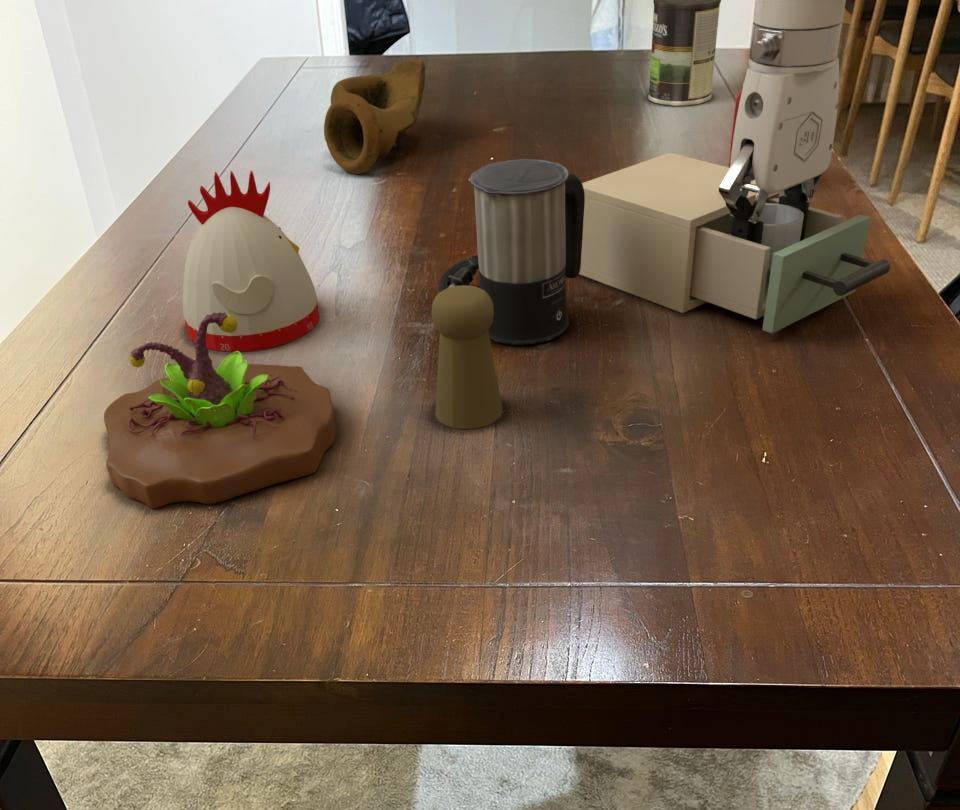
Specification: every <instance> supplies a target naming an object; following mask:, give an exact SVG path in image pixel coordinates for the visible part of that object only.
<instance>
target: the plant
mask: <svg viewBox="0 0 960 810" xmlns="http://www.w3.org/2000/svg"><path fill="white" fill-rule="evenodd" d="M209 323H216V324H217V325H218V326H219V327H220V329H221V330H223V331H225V332H227V333H232V332H234V331H235V330H237V329H236V328H237V320H236V319H235V318H234V317H233V316H232V315H230V314H226V313H225V312H224V313H221V312H219V313H213V314H211V315H206V316H205V318H204V320H203V321H202V322H201V323H200V326H199V330H198V331H197V333H196V336H197V338H196V339H195V342H194V345H195V347H194V349H195V357H194V358H191V357H189V356H187V355H186V354H184V353H183V351H179V348H174V347H173V346H172V345H168V344H164V343H159V342H157V341H155V342H152V341H150V342H147V343H144V344H143V345H140V346H139V347H136V348H134V349H133V350H132V351H131V352H130V354H129V355H128V360H129V363H130V364H131V366H133V367H135V368H140V367H143V366H144V364H145V362H146V357H145V351H150V350H152V351H159V352H160V353H164V354H166V355H168V356H169V357H170V359H171V360H172V361H173V360H174V362H176V363H171V362H167V363H166V364H165V366H164V371H165V373H166V375H167V377H163V378H159V379H157V380H155V381H154V382H152V383H151V384H150V385H148V386H146V387H145V388H143V389H141V390H139V391H135V392H127V393H124V394H123V395H121V396H119V397H118V398H116V399H115V400H113V401H112V402H111V403H110V404H109V405H108V406H107V408H106V409H105V411H104V414H103V423H104V426H105V429H106V432H107V435H108V446H109V454H108V457H107V459H106V463H105V465H106V471H107V473H108V476H109V479H110V482H111V483H112V485H113V486H114V487H117V488H118V489H120V491H121V492H122V493H123V494H124V496H126V497H127V498H130V499H132V500H134V501H138V502H141V503H143V504H145V505H146V506H148V507H149V508H150V509H158V508H160V507H164V506H166V505H169V504H174V503H179V502H192V503H193V502H195V503H201V504H205V505H212V504H216V503H221V502H224V501H227V500H229V499H233V498H236V497H239V496H243V495H246V494H249V493H253V492H255V491H258V490H261V489H264V488H267V487H270V486H274V485H278V484H281V483H285V482H288V481H291V480H292V481H293V480H295V479H299V478H303V477H306V476H309V475H312V474H314V473H315V472H317V470H318V468H319V466H320V463H321V461H322V459H323V456H324V455H325V453H326V452H327V451H328V449H330V448H331V447H332V446H333V444H334V442H335V439H336V435H337V425H336V419H335V413H334V412H335V411H334V407H333V404H332V399H331V394H330V393H331V392H330V390H329V389H328V387H325V386H322V385H320V384H317V383H315V382H314V381H313V380H312V379H311V378H310V376H309V375H308V374H307V372H305V370H304V369H303V367H302V366H297V365H295V366H294V365H292V366H291V365H278V364H257V363H249V362H248V360H246V359H245V360H244V356H243V354H242V352H241V351H236V352H232V353H230V354H228V355H227V356H226V357H224V359H223V360H222V361H221V362H220V364H219V365H218V367H217V368H216V370H215V367H214V366H213V359H211V358H210V355H209V348H207V345H206V334H207V327H208V325H209Z"/></svg>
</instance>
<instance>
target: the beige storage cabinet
mask: <svg viewBox="0 0 960 810" xmlns="http://www.w3.org/2000/svg"><path fill="white" fill-rule="evenodd" d="M729 169H730V168H729V166H724V165H721V164H716V163H712V162H708V161H704V160H701V159H697V158H693V157H690V156H685V155H681V154H678V153H673V152H667V153H665V154H662V155H658V156H656V157H654V158H650V159H648V160H645V161H641V162H639V163H636V164H632V165H630V166H627V167H624V168H622V169H619V170H615V171H613V172H609V173H607V174H605V175H601V176H598V177H596V178H592V179H590V180H587V181H585V182H582V184H583V188H584V194H585V204H584V219H583V238H582V253H581V268H580V272H579V274H578V275H580V276H583V277H586V278H589V279H591V280H594V281H595V282H596V281H597V282H599V283H602V284H604V285H607V286H609V287H612V288H615V289H618V290H620V291H623V292H625V293H628V294H630V295H633V296H636V297H638V298H641V299H644V300H647V301H649V302H651V303H655V304H657V305H660V306H663V307H665V308H668V309H670V310H673V311H675V312H679V313H681V314H684V313H687V312H688V311H691V310H693V309H695V308H697V307H699V306H701V305H704V304H706V303H707V302H706V301H704V300H701V299H698V298H695V297H692V296H690V287H691V276H692V265H693V254H694V243H695V232H696V227H697V226H700V225H702V224H705V223H707V222H710V221H712V220H715V219H717V218H720V217H722V216H724V215H727V214H729V213H730V210H729V209H728V207H727V206H726V202H725V201H724V199H723V198H722V196H721V195H720V193H719V186H720V184H721V183H722V181H723V179H724V178H725V176H726V174H727V173H728V171H729ZM750 184H754V185H756V182H755V180H753V181H751V183H750ZM755 196H756V193H754V192H751V191H749V192H748V195H747V199H748V200H749V202H750V203H751V205H752V204H753V202H754V199H755ZM780 196H785V194H784V190H783V191H780V192H778V193H774V194H768V197H767V198H769V197H775V198H778V199H779V197H780Z"/></svg>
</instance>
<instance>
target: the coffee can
mask: <svg viewBox="0 0 960 810" xmlns="http://www.w3.org/2000/svg"><path fill="white" fill-rule="evenodd" d="M652 3H653V17H652V33H651V34H652V35H651V54H650V55H651V56H650V70H649V86H648V96H647V98H648V99H647V100H649V101H650V102H652V103H654V104H657V105H663V106H670V107H671V106H672V107H686V106H687V107H688V106H694V105H700V104H704V103H706V102H709V101H710V100H711V99H712V92H713V91H712V90H713V80H714V69H715V59H716V50H717V49H716V48H717V37H718V29H719V27H718V26H719V17H720V7H721V3H722V0H653V2H652Z"/></svg>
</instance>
